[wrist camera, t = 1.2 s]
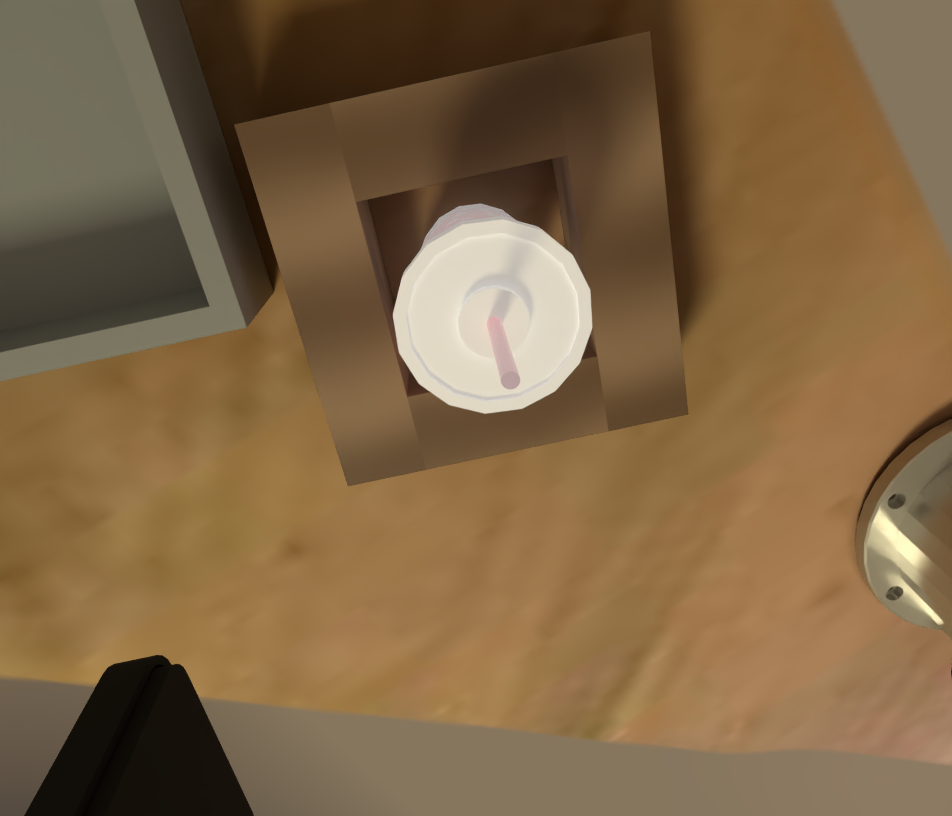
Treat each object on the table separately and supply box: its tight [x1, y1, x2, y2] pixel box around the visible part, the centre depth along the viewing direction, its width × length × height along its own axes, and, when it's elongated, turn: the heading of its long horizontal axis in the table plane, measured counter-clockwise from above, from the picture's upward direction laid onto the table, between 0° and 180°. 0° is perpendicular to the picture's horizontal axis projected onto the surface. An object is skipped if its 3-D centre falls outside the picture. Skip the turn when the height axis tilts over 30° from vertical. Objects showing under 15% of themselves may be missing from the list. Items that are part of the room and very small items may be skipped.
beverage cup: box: [393, 204, 592, 414], centre depth 24 cm, size 6×6×14 cm
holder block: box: [234, 31, 688, 486], centre depth 29 cm, size 14×14×4 cm
